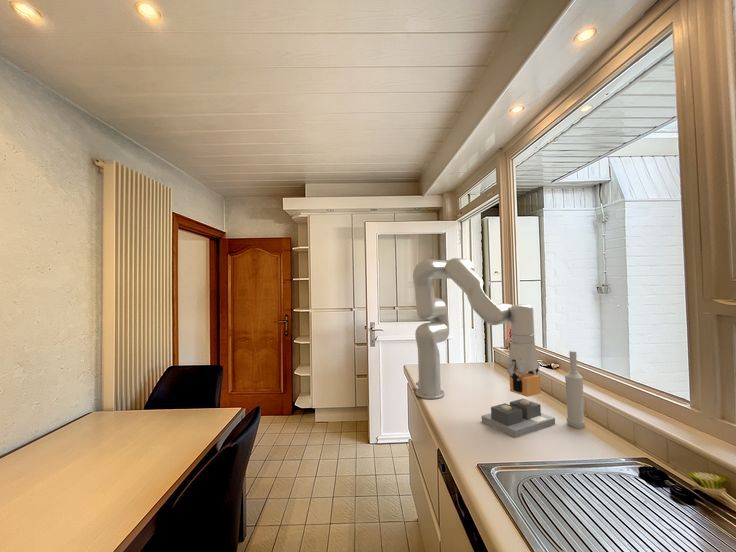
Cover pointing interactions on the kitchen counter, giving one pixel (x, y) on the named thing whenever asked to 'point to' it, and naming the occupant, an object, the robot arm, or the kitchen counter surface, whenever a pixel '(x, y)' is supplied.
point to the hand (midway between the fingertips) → (525, 389)
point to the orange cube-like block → (528, 384)
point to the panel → (519, 426)
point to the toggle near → (506, 407)
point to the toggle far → (524, 402)
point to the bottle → (574, 394)
